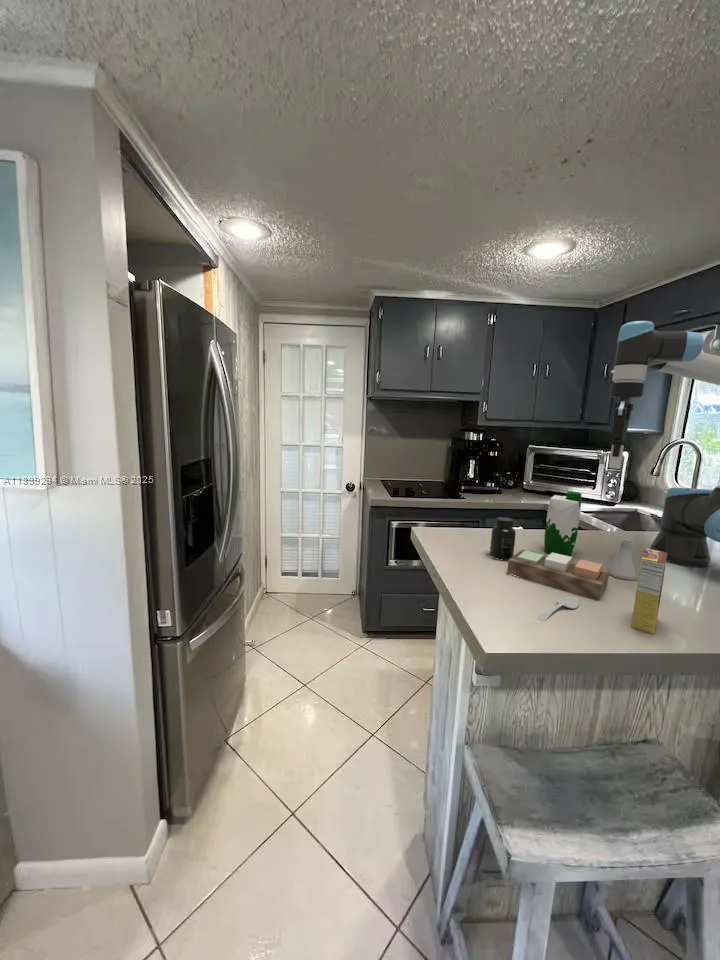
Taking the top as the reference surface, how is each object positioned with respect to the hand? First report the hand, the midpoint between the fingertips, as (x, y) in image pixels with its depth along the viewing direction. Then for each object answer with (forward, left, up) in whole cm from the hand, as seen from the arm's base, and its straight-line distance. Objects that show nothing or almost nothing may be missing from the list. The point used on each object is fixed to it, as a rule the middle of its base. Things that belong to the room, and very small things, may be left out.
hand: (614, 467), depth 111 cm
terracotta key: (0, +20, -27) cm, 34 cm away
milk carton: (+12, -4, -30) cm, 32 cm away
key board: (+7, +20, -29) cm, 36 cm away
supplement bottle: (+24, +14, -30) cm, 41 cm away
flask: (-6, +3, -30) cm, 30 cm away
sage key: (+14, +20, -29) cm, 38 cm away
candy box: (-13, +31, -30) cm, 45 cm away
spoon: (+3, +41, -30) cm, 51 cm away
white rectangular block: (+7, +20, -27) cm, 35 cm away
